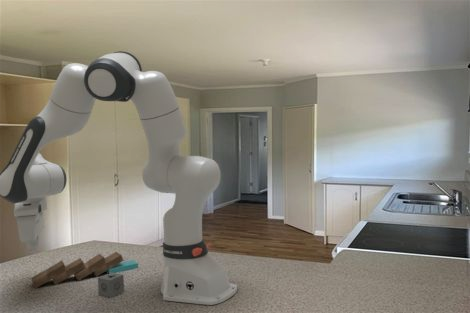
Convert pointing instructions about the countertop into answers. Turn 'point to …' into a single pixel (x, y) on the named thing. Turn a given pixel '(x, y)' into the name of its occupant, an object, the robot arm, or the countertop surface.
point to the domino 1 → (48, 274)
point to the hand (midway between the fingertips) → (34, 249)
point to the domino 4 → (109, 263)
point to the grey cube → (111, 284)
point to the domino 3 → (91, 266)
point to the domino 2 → (70, 270)
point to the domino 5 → (123, 266)
